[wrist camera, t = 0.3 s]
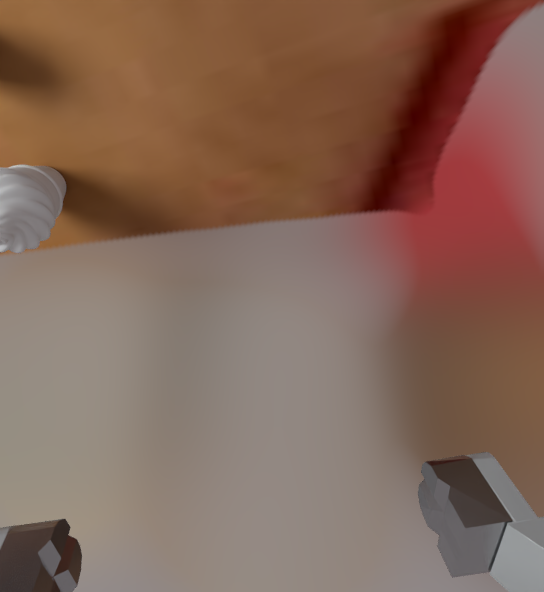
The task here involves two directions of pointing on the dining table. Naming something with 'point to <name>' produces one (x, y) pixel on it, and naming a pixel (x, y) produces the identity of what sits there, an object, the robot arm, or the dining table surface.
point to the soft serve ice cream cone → (28, 205)
